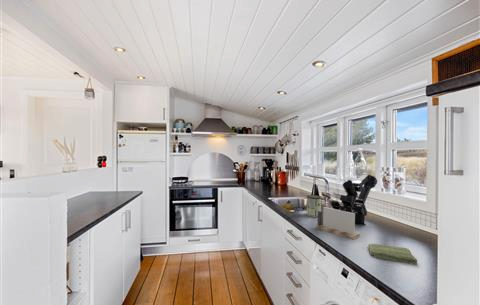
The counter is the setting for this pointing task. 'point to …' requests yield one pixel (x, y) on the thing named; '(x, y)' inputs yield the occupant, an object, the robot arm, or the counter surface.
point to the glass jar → (313, 205)
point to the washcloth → (392, 253)
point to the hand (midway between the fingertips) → (342, 218)
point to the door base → (331, 230)
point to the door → (338, 220)
